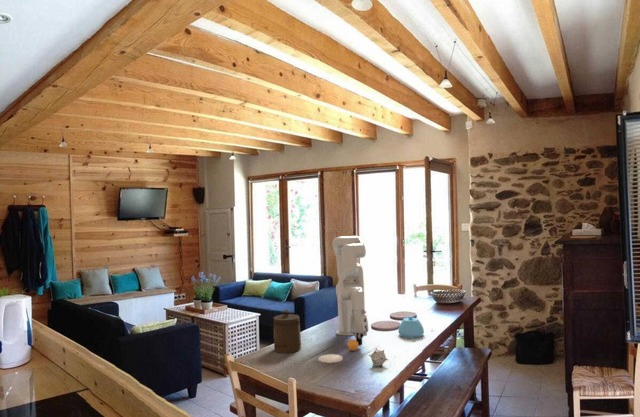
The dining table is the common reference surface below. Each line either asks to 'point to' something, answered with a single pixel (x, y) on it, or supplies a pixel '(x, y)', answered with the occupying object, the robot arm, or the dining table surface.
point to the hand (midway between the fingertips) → (359, 345)
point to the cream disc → (330, 358)
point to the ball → (353, 345)
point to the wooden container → (287, 333)
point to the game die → (378, 357)
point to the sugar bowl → (411, 328)
